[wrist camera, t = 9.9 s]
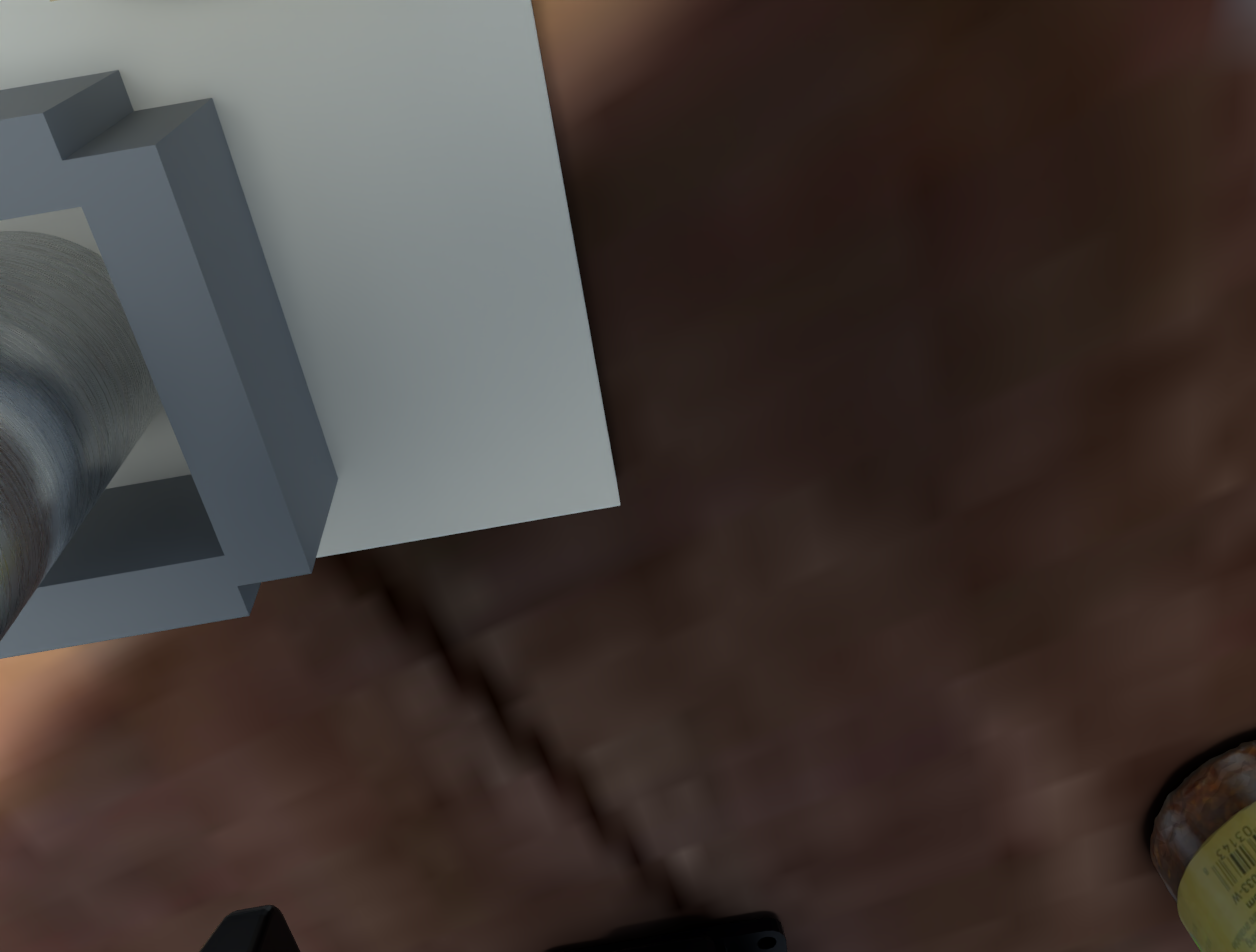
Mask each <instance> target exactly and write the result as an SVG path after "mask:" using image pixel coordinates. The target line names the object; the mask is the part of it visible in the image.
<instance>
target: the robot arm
mask: <svg viewBox="0 0 1256 952" xmlns="http://www.w3.org/2000/svg"><path fill="white" fill-rule="evenodd" d="M199 952H300V950H299V948H298V946H297V944H296V942H295V939H294V937H293V935H292V933H291V931H290V929H289V927H288V925H287V923H286V920H285V918H284V916H283V914H282V913H281V911H280V910H279V909H278V908H277V907H275V906H273V905H265V906H259V907H253V908H248V909H242V910H237V911H234V912H232V913H230V914H229V915H227V916H226V917H225V918H224V919H223V920H222V921H221V922H220V924H219V925H218V926H217V928H216V929H215V930H214V932H213V933H212V934H211V936H210V937H209V938H208V940H207V941H206V942H205V944H204V945H203V946H202V948H201V949H200V950H199ZM567 952H787V946H786V939H785V934H784V930H783V927H782V924H781V922H779V921H778V920H777V919H774V918H770V917H769V918H758V919H752V920H747V921H741V922H735V923H729V924H723V925H718V926H712V927H706V928H700V929H694V930H689V931H683V932H677V933H671V934H666V935H660V936H654V937H648V938H642V939H637V940H631V941H625V942H619V943H614V944H608V945H602V946H596V947H590V948H585V949H579V950H573V951H567Z"/></svg>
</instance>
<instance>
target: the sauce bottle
mask: <svg viewBox="0 0 1256 952" xmlns="http://www.w3.org/2000/svg"><path fill="white" fill-rule="evenodd" d="M1150 855H1151V859H1152V862H1153V864H1154V866H1155V868H1156V869H1157V871H1158V872H1159V875H1160V876H1161V878H1162V879H1163V881H1164V883H1165V885H1166V887H1167V889H1168V891H1169V892H1170V894H1171V895H1172V896H1173V898H1174V900H1175V901H1176V903H1177V908H1178V913H1179V916H1180V919H1181V921H1182V923H1183V924H1184V926H1185V928H1186V929H1187V931H1188V932H1189V934H1190V935H1191V937H1192V939H1193V940H1194V942H1195V943H1196V945H1197V946H1198V948H1199V949H1200V951H1201V952H1256V740H1253V741H1249V742H1243V743H1241V744H1240V745H1239V746H1238V747H1236V748H1233V749H1230V750H1228V751H1226V752H1225V753H1223V754H1221V755H1218V756H1216V757H1214V758H1211V759H1209V760H1208V761H1207V762H1205V763H1204V764H1202V765H1201V766H1200V767H1199V768H1198V769H1196V770H1195V771H1193V772H1192V773H1191V774H1190V775H1189V776H1188V777H1187V778H1185V779H1184V781H1183V782H1182V783H1181V784H1180V785H1179V786H1178V788H1176V789H1175V790H1173V791H1172V792H1171V793H1169V794H1168V796H1167V798H1166V800H1165V802H1164V804H1163V806H1162V808H1161V810H1160V812H1159V814H1158V816H1157V817H1156V818H1155V820H1154V829H1153V832H1152V835H1151V840H1150Z"/></svg>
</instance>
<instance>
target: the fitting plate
mask: <svg viewBox="0 0 1256 952" xmlns="http://www.w3.org/2000/svg"><path fill="white" fill-rule="evenodd" d="M3 231H28V232H38V233H43V234H48V235H53V236H57V237H60V238H63V239H66V240H69V241H72V242H75V243H77V244H79V245H81V246H84V247H86V248H88V249H90V250H92V251H94V252H95V253H97V254H99V255H100V256H102V258H103V261H104V263H105V266H106V268H107V271H108V273H109V275H110V278H111V280H112V283H113V285H114V288H115V290H116V292H117V295H118V297H119V300H120V302H121V305H122V307H123V309H124V312H125V314H126V317H127V319H128V322H129V324H130V327H131V329H132V331H133V334H134V336H135V339H136V341H137V344H138V346H139V348H140V351H141V353H142V356H143V358H144V361H145V363H146V365H147V368H148V370H149V373H150V375H151V378H152V380H153V382H154V385H155V387H156V390H157V392H158V395H159V397H160V399H161V402H162V406H161V408H160V409H159V411H158V412H157V414H156V416H155V417H154V419H153V420H152V422H151V423H150V425H149V426H148V428H147V429H146V430H145V432H144V433H143V435H142V436H141V438H140V439H139V441H138V442H137V444H136V445H135V446H134V448H133V449H132V451H131V452H130V454H129V455H128V457H127V458H126V460H125V461H124V462H123V464H122V465H121V467H120V468H119V470H118V471H117V473H116V474H115V476H114V477H113V478H112V480H111V481H110V483H109V484H108V486H107V487H106V489H105V490H104V492H103V493H102V494H101V496H100V497H99V499H98V500H97V502H96V503H95V505H94V506H93V508H92V509H91V510H90V512H89V513H88V515H87V516H86V518H85V519H84V521H83V522H82V524H81V525H80V526H79V528H78V529H77V531H76V532H75V534H74V535H73V537H72V538H71V540H70V541H69V543H68V544H67V545H66V547H65V548H64V550H63V551H62V553H61V554H60V556H59V557H58V559H57V560H56V561H55V563H54V564H53V566H52V567H51V569H50V570H49V572H48V573H47V575H46V576H45V577H44V579H43V580H42V582H41V583H40V585H39V586H38V588H37V589H36V591H35V592H34V593H33V595H32V596H31V598H30V599H29V601H28V602H27V604H26V605H25V607H24V608H23V609H22V611H21V612H20V614H19V615H18V617H17V618H16V620H15V621H14V623H13V624H12V625H11V627H10V628H9V630H8V631H7V633H6V634H5V636H4V637H3V639H2V640H1V641H0V659H1V658H7V657H13V656H19V655H25V654H30V653H36V652H42V651H48V650H54V649H59V648H65V647H71V646H77V645H83V644H88V643H94V642H100V641H106V640H112V639H117V638H123V637H129V636H135V635H141V634H146V633H152V632H158V631H164V630H170V629H175V628H181V627H187V626H193V625H199V624H204V623H210V622H216V621H222V620H228V619H233V618H239V617H245V616H249V615H250V613H251V610H252V607H253V604H254V601H255V598H256V595H257V592H258V590H259V587H260V584H261V582H265V581H270V580H276V579H282V578H288V577H294V576H299V575H305V574H311V573H312V570H313V567H314V563H315V559H316V558H318V557H324V556H330V555H336V554H342V553H347V552H353V551H359V550H365V549H371V548H376V547H382V546H388V545H394V544H400V543H405V542H411V541H417V540H423V539H429V538H434V537H440V536H446V535H452V534H458V533H463V532H469V531H475V530H481V529H487V528H492V527H498V526H504V525H510V524H516V523H521V522H527V521H533V520H539V519H545V518H551V517H556V516H562V515H568V514H574V513H580V512H585V511H591V510H597V509H603V508H609V507H614V506H620V499H619V493H618V486H617V480H616V474H615V469H614V463H613V457H612V452H611V446H610V440H609V435H608V429H607V424H606V418H605V412H604V407H603V401H602V395H601V390H600V384H599V379H598V373H597V367H596V362H595V356H594V351H593V345H592V339H591V334H590V328H589V322H588V317H587V311H586V306H585V300H584V294H583V289H582V283H581V277H580V272H579V266H578V261H577V255H576V249H575V244H574V238H573V232H572V227H571V221H570V216H569V210H568V204H567V199H566V193H565V187H564V182H563V176H562V171H561V165H560V159H559V154H558V148H557V142H556V137H555V131H554V126H553V120H552V114H551V109H550V103H549V97H548V92H547V86H546V81H545V75H544V69H543V64H542V58H541V52H540V47H539V41H538V36H537V30H536V24H535V19H534V13H533V7H532V2H531V0H0V232H3Z"/></svg>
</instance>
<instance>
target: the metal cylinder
mask: <svg viewBox="0 0 1256 952" xmlns="http://www.w3.org/2000/svg"><path fill="white" fill-rule="evenodd" d="M161 406H162V402H161V399H160V397H159V395H158V392H157V390H156V387H155V385H154V382H153V380H152V378H151V375H150V373H149V370H148V368H147V365H146V363H145V361H144V358H143V356H142V353H141V351H140V348H139V346H138V344H137V341H136V339H135V336H134V334H133V331H132V329H131V327H130V324H129V322H128V319H127V317H126V314H125V312H124V309H123V307H122V305H121V302H120V300H119V297H118V295H117V292H116V290H115V288H114V285H113V283H112V280H111V278H110V275H109V273H108V271H107V268H106V266H105V263H104V261H103V258H102V256H100V255H99V254H97V253H95V252H94V251H92V250H90V249H88V248H86V247H84V246H81V245H79V244H77V243H75V242H72V241H69V240H66V239H63V238H60V237H57V236H53V235H48V234H43V233H38V232H28V231H3V232H0V641H1V640H2V639H3V637H4V636H5V634H6V633H7V631H8V630H9V628H10V627H11V625H12V624H13V623H14V621H15V620H16V618H17V617H18V615H19V614H20V612H21V611H22V609H23V608H24V607H25V605H26V604H27V602H28V601H29V599H30V598H31V596H32V595H33V593H34V592H35V591H36V589H37V588H38V586H39V585H40V583H41V582H42V580H43V579H44V577H45V576H46V575H47V573H48V572H49V570H50V569H51V567H52V566H53V564H54V563H55V561H56V560H57V559H58V557H59V556H60V554H61V553H62V551H63V550H64V548H65V547H66V545H67V544H68V543H69V541H70V540H71V538H72V537H73V535H74V534H75V532H76V531H77V529H78V528H79V526H80V525H81V524H82V522H83V521H84V519H85V518H86V516H87V515H88V513H89V512H90V510H91V509H92V508H93V506H94V505H95V503H96V502H97V500H98V499H99V497H100V496H101V494H102V493H103V492H104V490H105V489H106V487H107V486H108V484H109V483H110V481H111V480H112V478H113V477H114V476H115V474H116V473H117V471H118V470H119V468H120V467H121V465H122V464H123V462H124V461H125V460H126V458H127V457H128V455H129V454H130V452H131V451H132V449H133V448H134V446H135V445H136V444H137V442H138V441H139V439H140V438H141V436H142V435H143V433H144V432H145V430H146V429H147V428H148V426H149V425H150V423H151V422H152V420H153V419H154V417H155V416H156V414H157V412H158V411H159V409H160V408H161Z"/></svg>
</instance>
